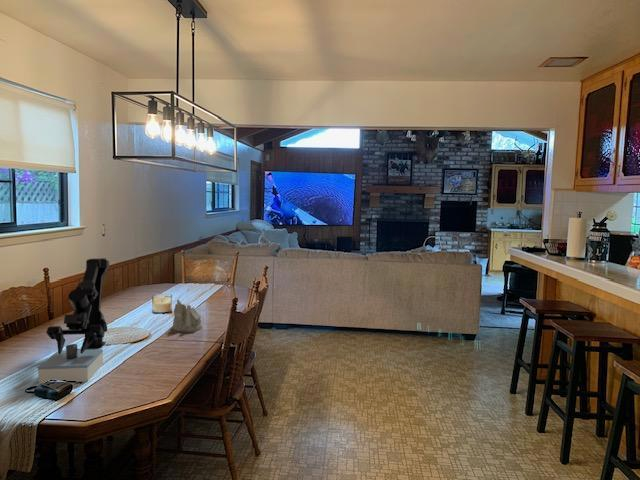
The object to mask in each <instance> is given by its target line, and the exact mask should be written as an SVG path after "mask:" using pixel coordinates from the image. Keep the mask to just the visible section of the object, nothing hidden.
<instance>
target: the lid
mask: <svg viewBox="0 0 640 480" xmlns="http://www.w3.org/2000/svg"><path fill="white" fill-rule="evenodd" d="M103 350H104V349H101V348H99V349H97V348H94V349H86V350H85V351H84V352H83V353H80V351H81V349H78V344H77V343H70V344H67V345H65V349H64V350H63V349H62V352H61V354H59V353H58V350H57V351H56V352H54V354H52V355H50V357H48V358H47V359H46V360H44V362H42V363H40V365H39V366H37V371H38V370H41V369H69V368H88V367H89V366H90V365H91V364H92V362H93V361H94V360H95V359H96V358H97V357H98V356H99V355H100V354H101V353H102V352H104V351H103Z"/></svg>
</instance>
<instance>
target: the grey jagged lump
mask: <svg viewBox="0 0 640 480" xmlns="http://www.w3.org/2000/svg"><path fill="white" fill-rule="evenodd" d="M173 313H174V314H173V315H174V318H173V322H172V328H171V329H172V330H174V331H177V332H186V333H187V332H189V333H194V332H195V333H196V332H199V331H201V330H202V329H203V325H201V322H202V320H201V314H199V312H198V311H197V310H196V308H195V307H191V305H190V304H187V306H186V305H185V304H184V303H182V301H180V299H177V300H176V303H175V305H174V310H173Z"/></svg>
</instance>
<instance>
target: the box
mask: <svg viewBox="0 0 640 480" xmlns="http://www.w3.org/2000/svg"><path fill="white" fill-rule="evenodd" d="M103 352H104V351H103ZM103 352H102V353H101V354H100V355H99V356H98V357H97V358H96V359H95V360H94V361H93V362H92V364H91V365H90V366H89V367H88V368H69V369H41V370H38V369H37V371H38V374H37V375H38V384H45V383H44V382H46V381H48V380H53V379H58V380H66V381H76V382H75V383H80V382H81V383H85V382H86V383H87V382H89V381H90V380H91V379H92V378H93V377H94V375H95V374H96V373H97V372H98V371H99V369H100V368H101V367H102V366H103V365H104V355H103V354H104V353H103Z"/></svg>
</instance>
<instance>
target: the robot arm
mask: <svg viewBox="0 0 640 480" xmlns="http://www.w3.org/2000/svg"><path fill="white" fill-rule="evenodd" d="M85 263H86V264H85V265H86V266H85V271H84V275H83V278H82V281H81V282H79V283H78V284H77V285H76V287H75V289H73V290H71V291H70V292H69V294H68V299H69V302H70V304H71V307H72V308H73V312H72V313H71V314H64V317H63V318H64V319H63V324H65V326H66V328H68V329H62V327H61V326H60V325H50V326H48V327H47V329H46V332H45V333H46V335H47V336H48V337H49V338H50V340H55V341H56V344H57V351H58V353H59V354H61V352H62V350H63V349H64V347H65V342H66V338H65V336H69V335H71V336H72V335H84V337H83V338H84V339H83V341H82V344H81V348H80V350H81V351H80V353H83V352H84V351H85V350H87V349H97V348H99V349H101V348H102V347H103V346H104V345H105V344H106V341H103V339H104V337H105V334H106V332H108V325H107V324H108V323H107V322H106V320H105V315H104V314H103V312H102V310H101V306H102V305H101V304H102V293H103V282H104V281H103V280H104V278H105V276H106V275H107V274H108V270H109V268H110V261H109V260H108V259H107V258H100V257H99V258H89V259H87V260H86V261H85Z"/></svg>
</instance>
